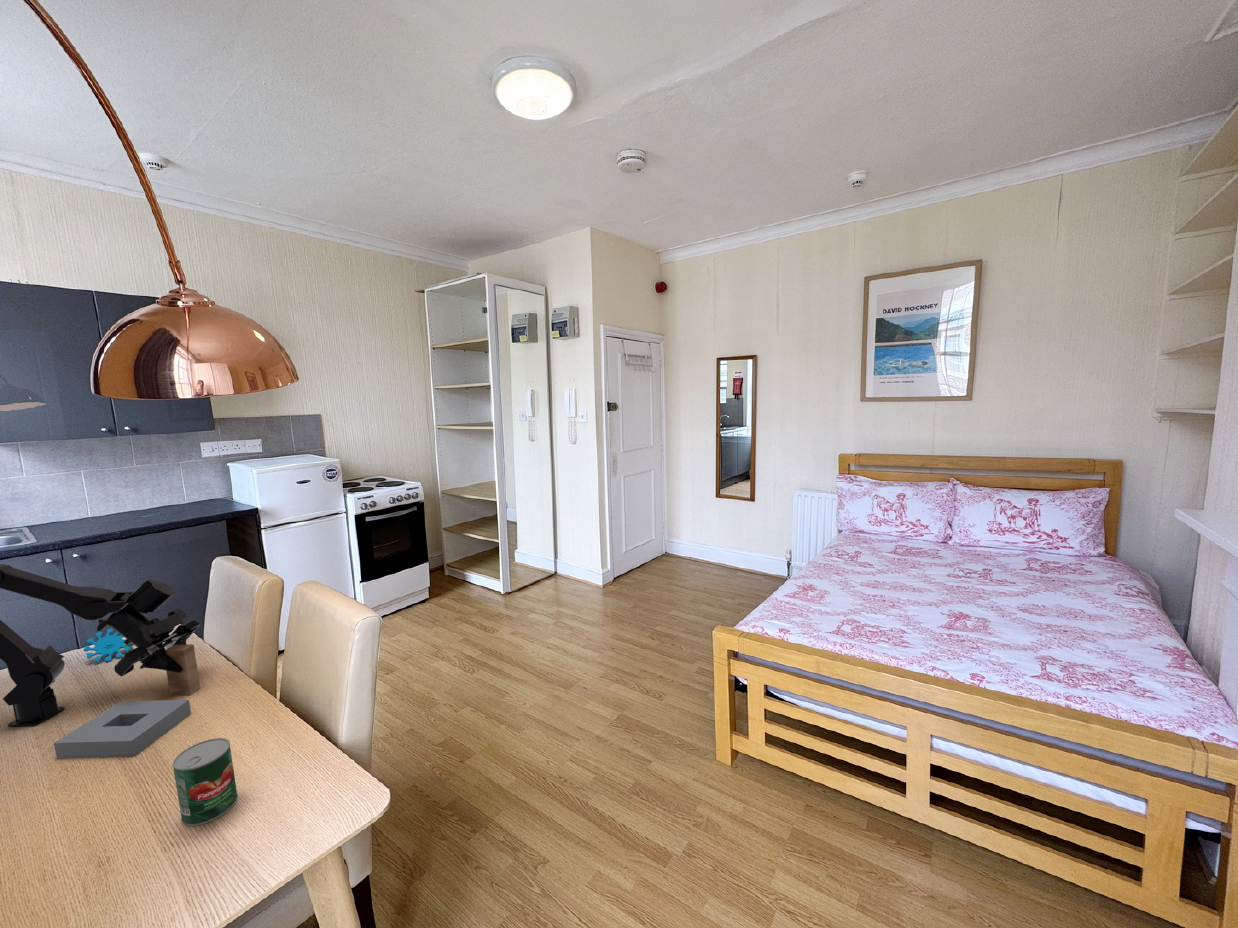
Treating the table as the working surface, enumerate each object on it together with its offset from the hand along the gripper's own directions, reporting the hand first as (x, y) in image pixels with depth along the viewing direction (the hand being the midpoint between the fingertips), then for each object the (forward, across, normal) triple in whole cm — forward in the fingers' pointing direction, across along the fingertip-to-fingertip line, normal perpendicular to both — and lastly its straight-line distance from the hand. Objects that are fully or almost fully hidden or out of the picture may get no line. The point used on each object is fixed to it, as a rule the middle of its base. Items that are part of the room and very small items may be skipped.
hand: (187, 667), depth 125 cm
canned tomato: (+29, -37, -20) cm, 51 cm away
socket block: (+4, -16, +5) cm, 17 cm away
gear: (-22, +19, +32) cm, 44 cm away
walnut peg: (+4, 0, +6) cm, 7 cm away
